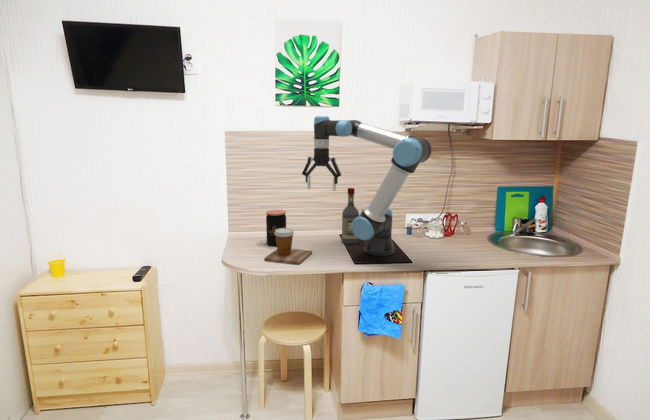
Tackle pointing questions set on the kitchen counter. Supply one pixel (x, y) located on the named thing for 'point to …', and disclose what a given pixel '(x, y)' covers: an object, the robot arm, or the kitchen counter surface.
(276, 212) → the coffee jar
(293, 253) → the walnut board
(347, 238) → the liquor
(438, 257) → the kitchen counter surface
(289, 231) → the disposable coffee cup
